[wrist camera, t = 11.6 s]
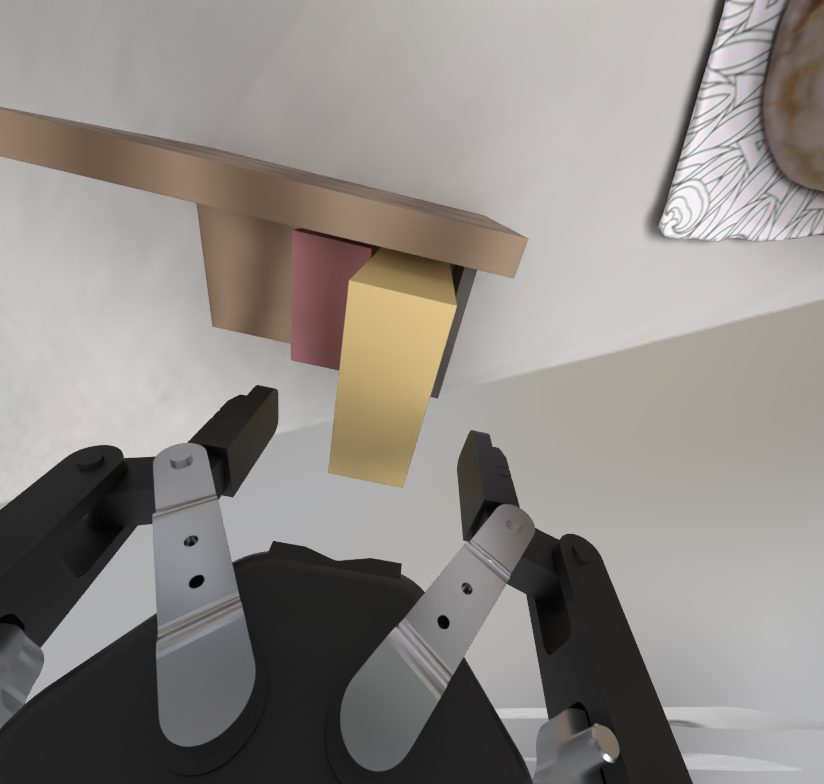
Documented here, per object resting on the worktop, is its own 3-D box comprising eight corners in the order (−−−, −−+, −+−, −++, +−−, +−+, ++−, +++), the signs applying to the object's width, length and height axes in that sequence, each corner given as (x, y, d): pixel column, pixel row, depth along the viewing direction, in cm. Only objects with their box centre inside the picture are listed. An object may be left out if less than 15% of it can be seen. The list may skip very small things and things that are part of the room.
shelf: (221, 321, 32) (85, 403, 19) (202, 145, 24) (-39, 99, 12) (439, 368, 33) (441, 475, 21) (484, 215, 25) (528, 238, 13)
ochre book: (376, 347, 30) (328, 472, 17) (396, 232, 25) (349, 280, 12) (418, 356, 31) (402, 488, 17) (446, 244, 25) (456, 306, 12)
